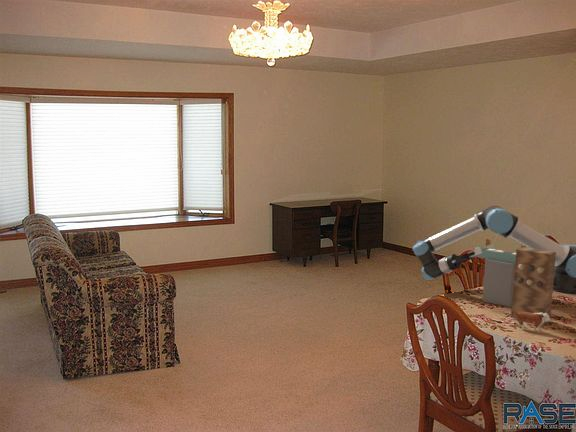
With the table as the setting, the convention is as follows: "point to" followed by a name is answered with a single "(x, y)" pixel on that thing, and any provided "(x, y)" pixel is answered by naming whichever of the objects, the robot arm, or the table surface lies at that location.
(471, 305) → the table surface
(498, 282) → the grey plinth
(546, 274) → the walnut stand
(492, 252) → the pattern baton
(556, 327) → the table surface
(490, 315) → the table surface
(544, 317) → the bull figurine
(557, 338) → the table surface
